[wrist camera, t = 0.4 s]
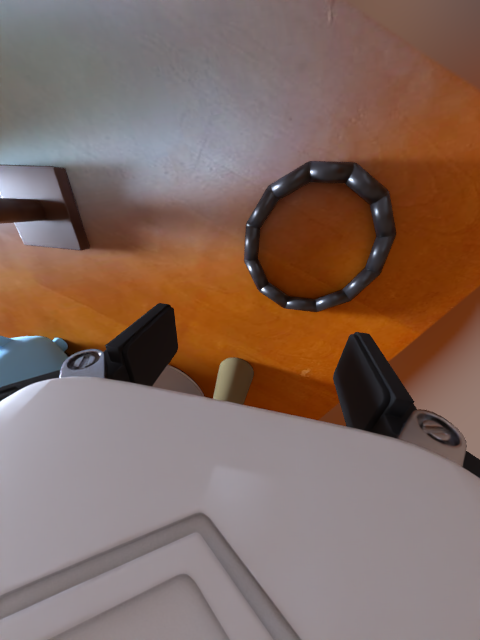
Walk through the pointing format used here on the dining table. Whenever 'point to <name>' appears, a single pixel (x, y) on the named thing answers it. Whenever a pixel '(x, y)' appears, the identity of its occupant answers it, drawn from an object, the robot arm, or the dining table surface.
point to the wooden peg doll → (233, 380)
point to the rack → (41, 206)
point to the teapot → (29, 357)
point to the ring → (323, 173)
